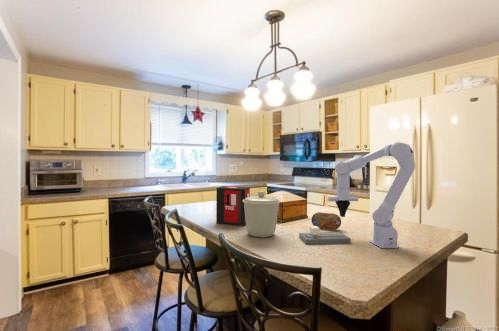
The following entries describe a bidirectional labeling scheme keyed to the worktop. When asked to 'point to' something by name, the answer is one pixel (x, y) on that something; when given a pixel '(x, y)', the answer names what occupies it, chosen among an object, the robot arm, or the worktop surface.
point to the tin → (326, 221)
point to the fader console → (324, 238)
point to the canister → (261, 214)
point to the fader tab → (314, 230)
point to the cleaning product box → (231, 205)
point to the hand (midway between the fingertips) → (342, 216)
